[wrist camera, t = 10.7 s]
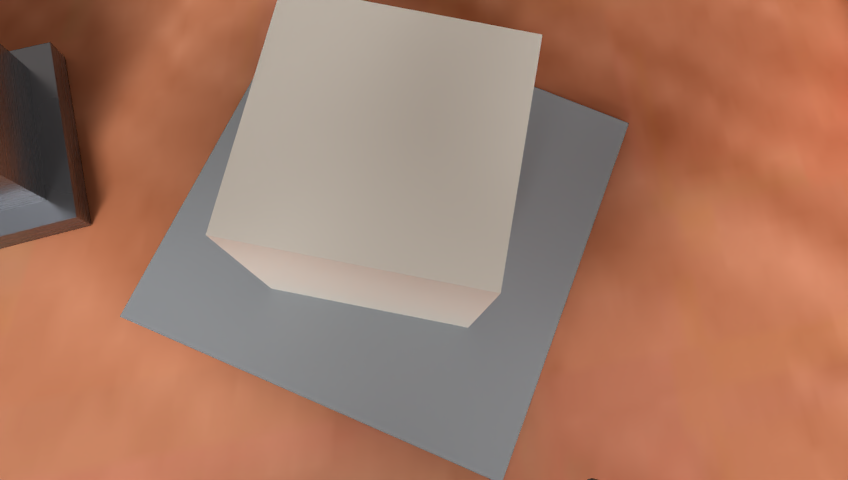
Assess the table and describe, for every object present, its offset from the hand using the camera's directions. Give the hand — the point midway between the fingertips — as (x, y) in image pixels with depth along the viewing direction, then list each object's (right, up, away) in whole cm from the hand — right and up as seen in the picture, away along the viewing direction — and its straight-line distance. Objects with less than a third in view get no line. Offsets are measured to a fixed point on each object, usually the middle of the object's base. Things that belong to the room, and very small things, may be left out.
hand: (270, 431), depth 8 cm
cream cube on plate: (+1, +4, +13) cm, 13 cm away
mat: (+1, +4, +14) cm, 14 cm away
